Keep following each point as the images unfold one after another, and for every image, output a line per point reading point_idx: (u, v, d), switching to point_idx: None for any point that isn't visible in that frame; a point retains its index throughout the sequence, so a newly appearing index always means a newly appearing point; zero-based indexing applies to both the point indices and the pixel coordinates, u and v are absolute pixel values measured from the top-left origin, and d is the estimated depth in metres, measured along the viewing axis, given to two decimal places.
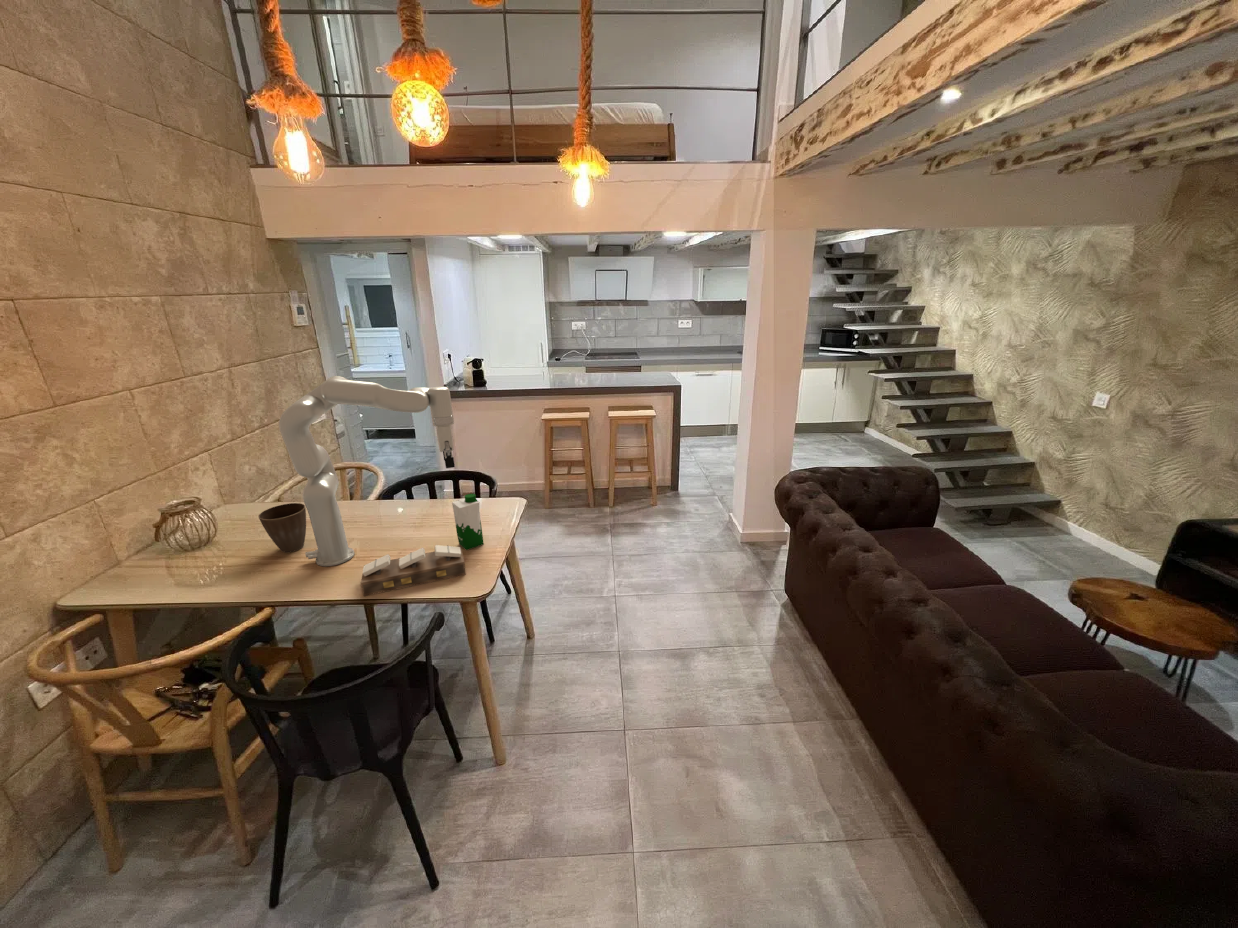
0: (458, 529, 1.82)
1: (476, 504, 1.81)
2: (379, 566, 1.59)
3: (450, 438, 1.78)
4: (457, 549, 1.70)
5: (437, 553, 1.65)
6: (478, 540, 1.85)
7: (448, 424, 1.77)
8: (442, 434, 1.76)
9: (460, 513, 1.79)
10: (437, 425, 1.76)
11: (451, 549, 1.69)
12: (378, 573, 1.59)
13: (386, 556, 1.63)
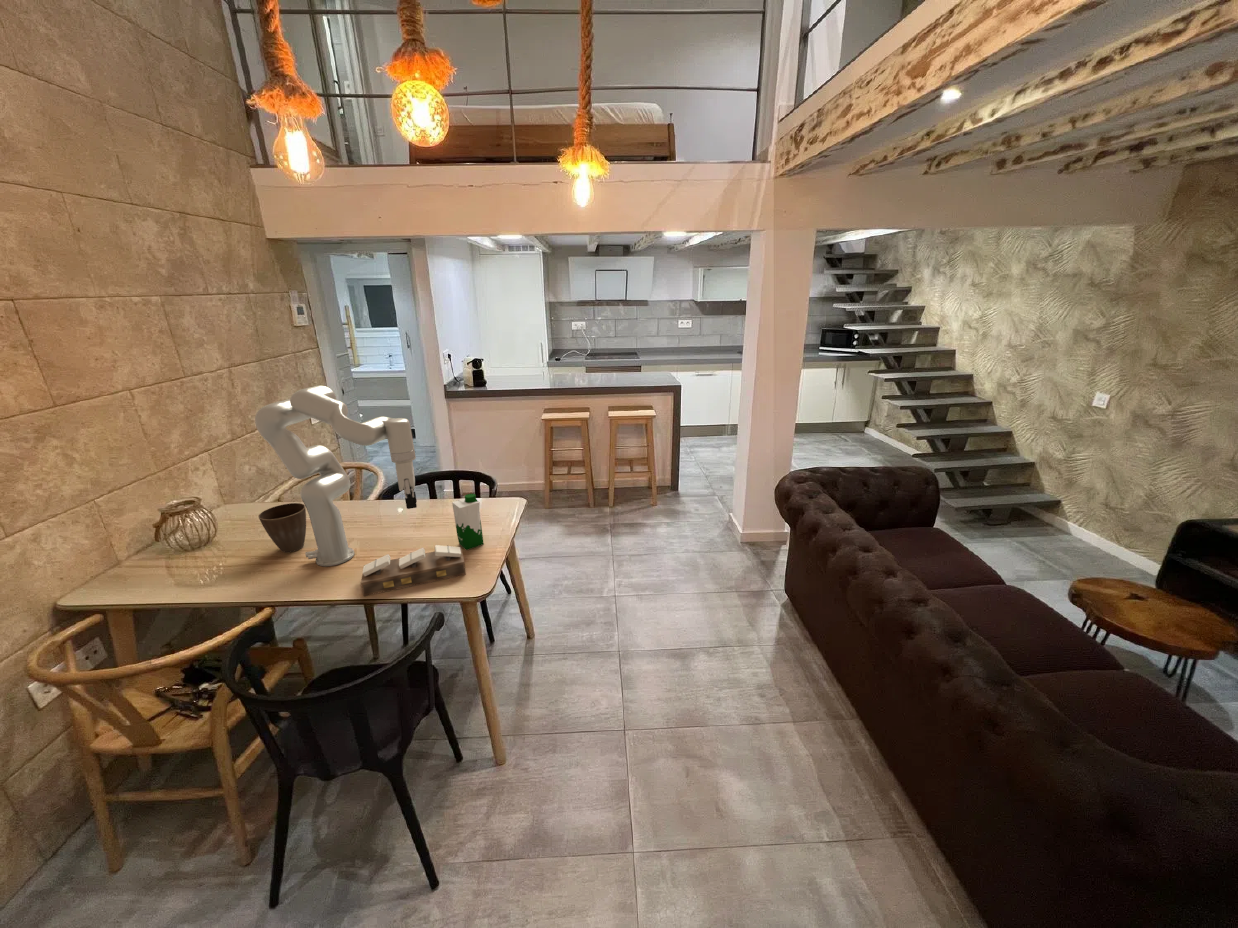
0: (458, 529, 1.82)
1: (476, 504, 1.81)
2: (379, 566, 1.59)
3: (410, 475, 1.60)
4: (457, 549, 1.70)
5: (437, 553, 1.65)
6: (478, 540, 1.85)
7: (408, 460, 1.59)
8: (401, 471, 1.58)
9: (460, 513, 1.79)
10: (395, 461, 1.58)
11: (451, 549, 1.69)
12: (378, 573, 1.59)
13: (386, 556, 1.63)
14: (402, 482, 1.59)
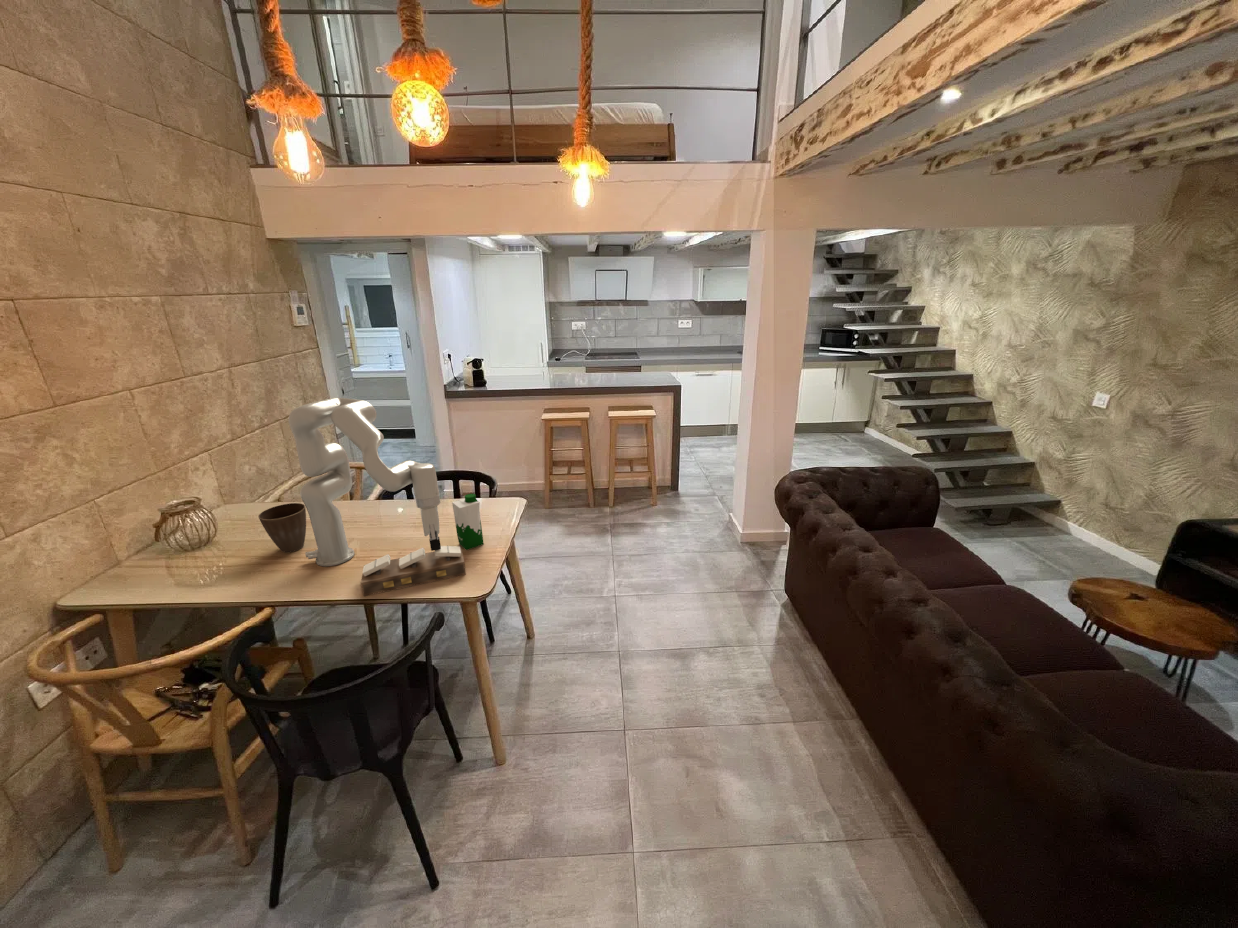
0: (458, 529, 1.82)
1: (476, 504, 1.81)
2: (379, 566, 1.59)
3: (435, 521, 1.59)
4: (457, 548, 1.70)
5: (437, 554, 1.65)
6: (478, 540, 1.85)
7: (433, 505, 1.59)
8: (426, 517, 1.58)
9: (460, 513, 1.79)
10: (421, 507, 1.58)
11: (450, 549, 1.69)
12: (378, 573, 1.59)
13: (386, 556, 1.63)
14: (427, 528, 1.58)
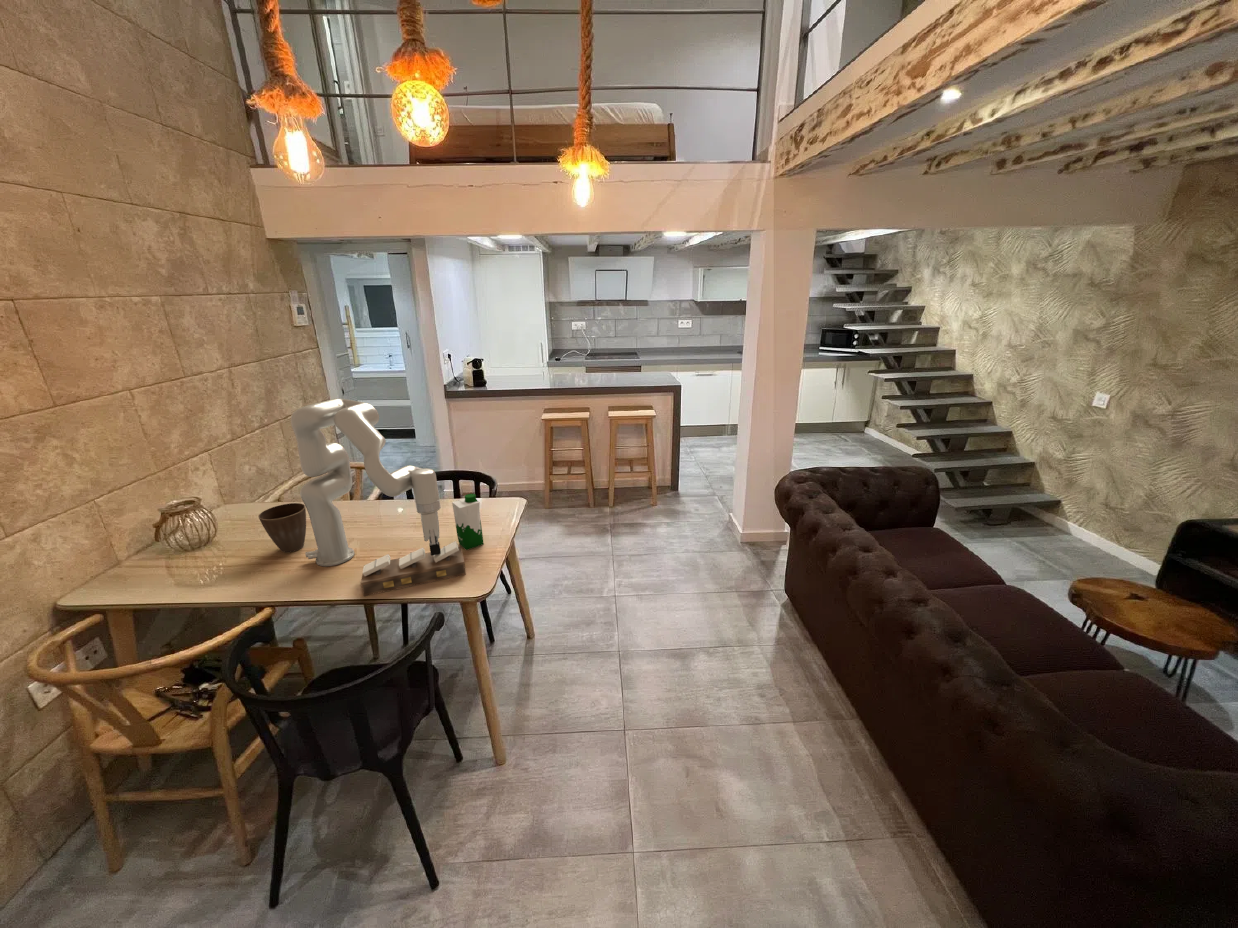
0: (458, 529, 1.82)
1: (476, 504, 1.81)
2: (379, 566, 1.59)
3: (435, 526, 1.60)
4: (453, 544, 1.69)
5: (436, 560, 1.65)
6: (478, 540, 1.85)
7: (433, 511, 1.59)
8: (426, 522, 1.58)
9: (460, 513, 1.79)
10: (421, 512, 1.58)
11: (447, 548, 1.68)
12: (378, 573, 1.59)
13: (386, 556, 1.63)
14: (427, 533, 1.59)
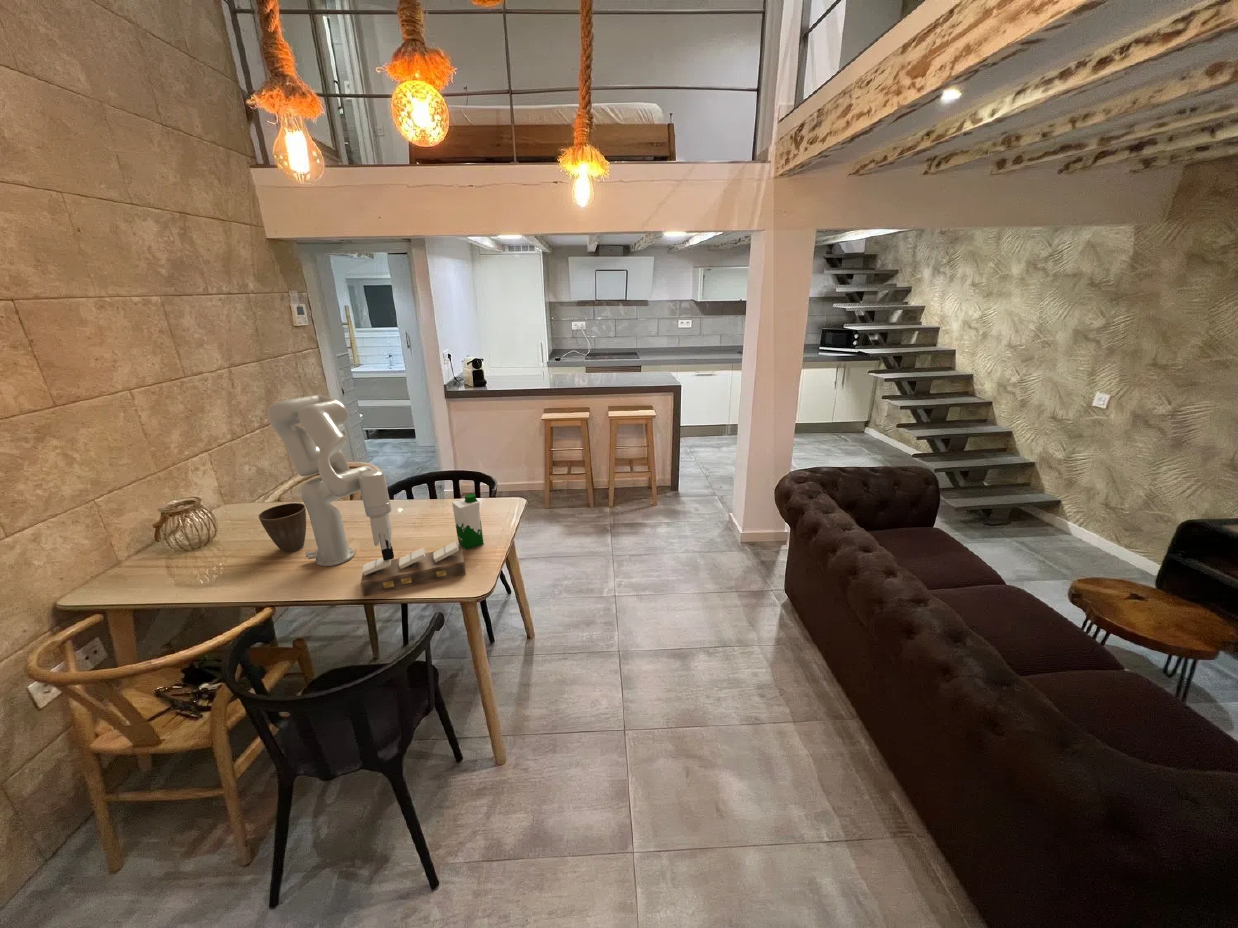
0: (458, 529, 1.82)
1: (476, 504, 1.81)
2: (380, 566, 1.59)
3: (386, 530, 1.54)
4: (453, 544, 1.69)
5: (436, 560, 1.65)
6: (478, 540, 1.85)
7: (383, 514, 1.54)
8: (376, 526, 1.52)
9: (460, 513, 1.79)
10: (370, 515, 1.53)
11: (447, 548, 1.68)
12: (378, 573, 1.59)
13: None
14: (377, 537, 1.53)
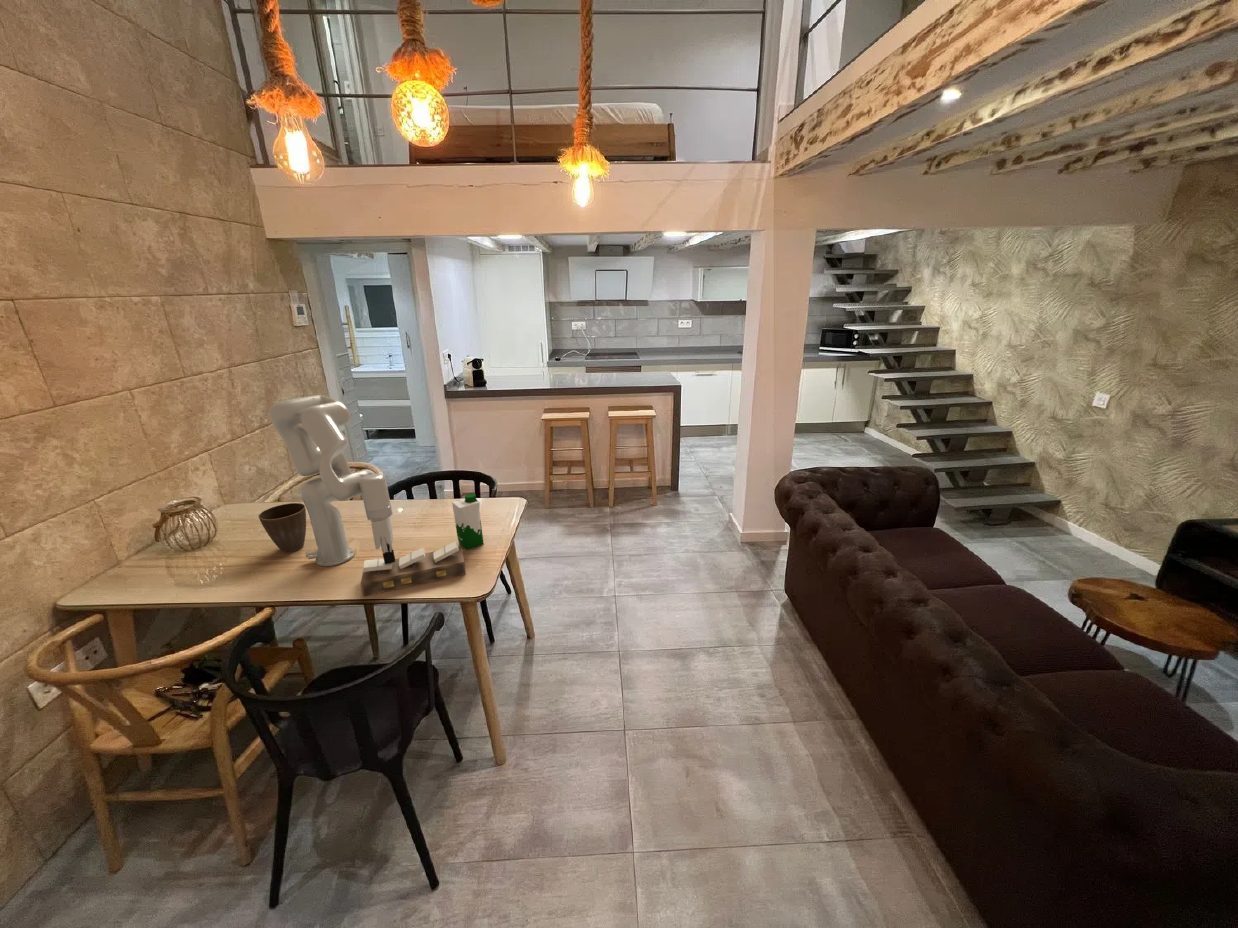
0: (458, 529, 1.82)
1: (476, 504, 1.81)
2: (381, 567, 1.59)
3: (387, 533, 1.54)
4: (453, 544, 1.69)
5: (436, 560, 1.65)
6: (478, 540, 1.85)
7: (384, 517, 1.54)
8: (377, 529, 1.53)
9: (460, 513, 1.79)
10: (371, 519, 1.53)
11: (447, 548, 1.68)
12: (378, 573, 1.59)
13: None
14: (378, 540, 1.53)
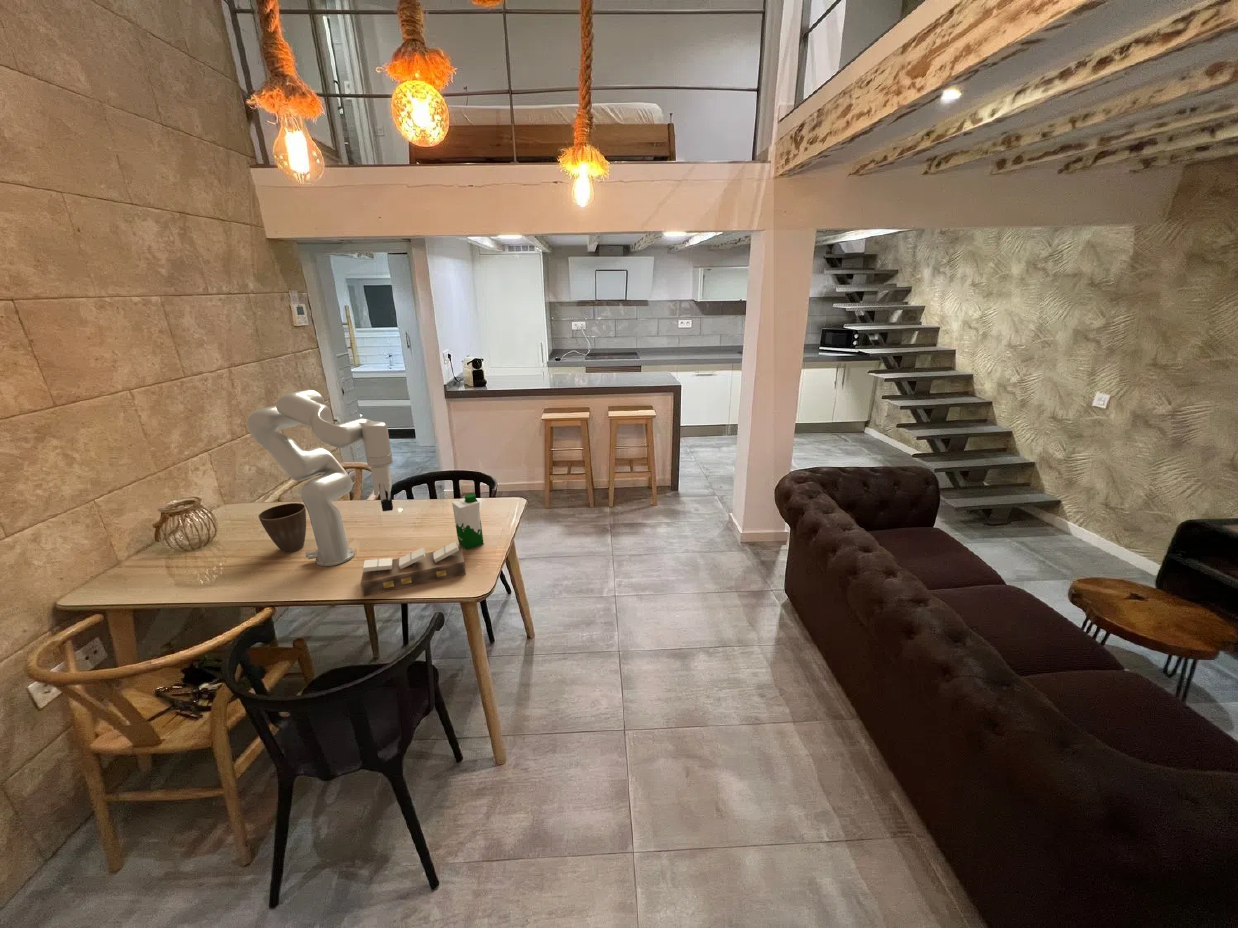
0: (458, 529, 1.82)
1: (476, 504, 1.81)
2: (381, 567, 1.59)
3: (386, 480, 1.57)
4: (453, 544, 1.69)
5: (436, 560, 1.65)
6: (478, 540, 1.85)
7: (384, 464, 1.57)
8: (376, 476, 1.56)
9: (460, 513, 1.79)
10: (371, 465, 1.56)
11: (447, 548, 1.68)
12: (378, 573, 1.59)
13: (390, 559, 1.63)
14: (377, 487, 1.57)
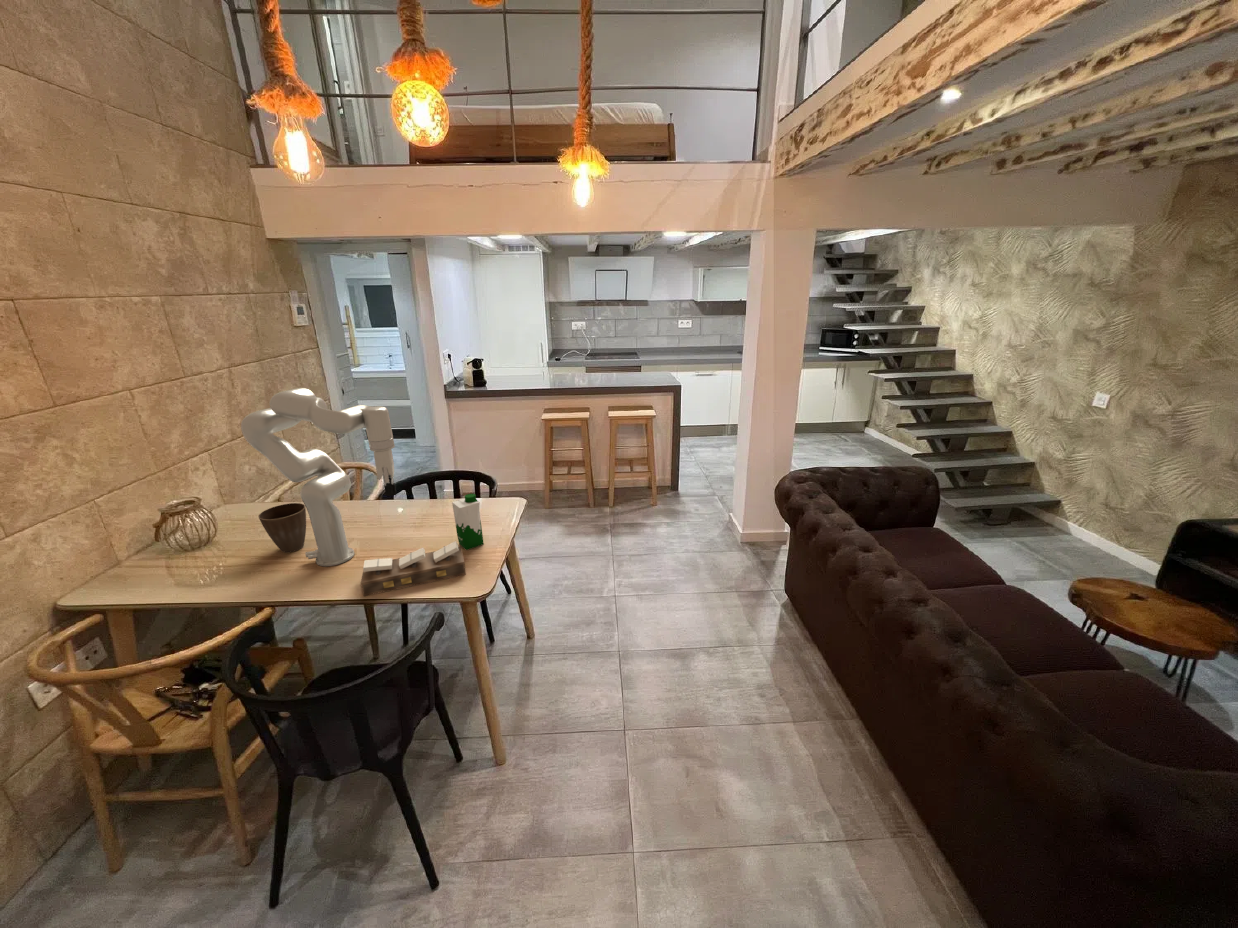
0: (458, 529, 1.82)
1: (476, 504, 1.81)
2: (381, 567, 1.59)
3: (389, 464, 1.59)
4: (453, 544, 1.69)
5: (436, 560, 1.65)
6: (478, 540, 1.85)
7: (386, 448, 1.59)
8: (379, 460, 1.57)
9: (460, 513, 1.79)
10: (374, 450, 1.58)
11: (447, 548, 1.68)
12: (378, 573, 1.59)
13: (390, 559, 1.63)
14: (380, 470, 1.58)
